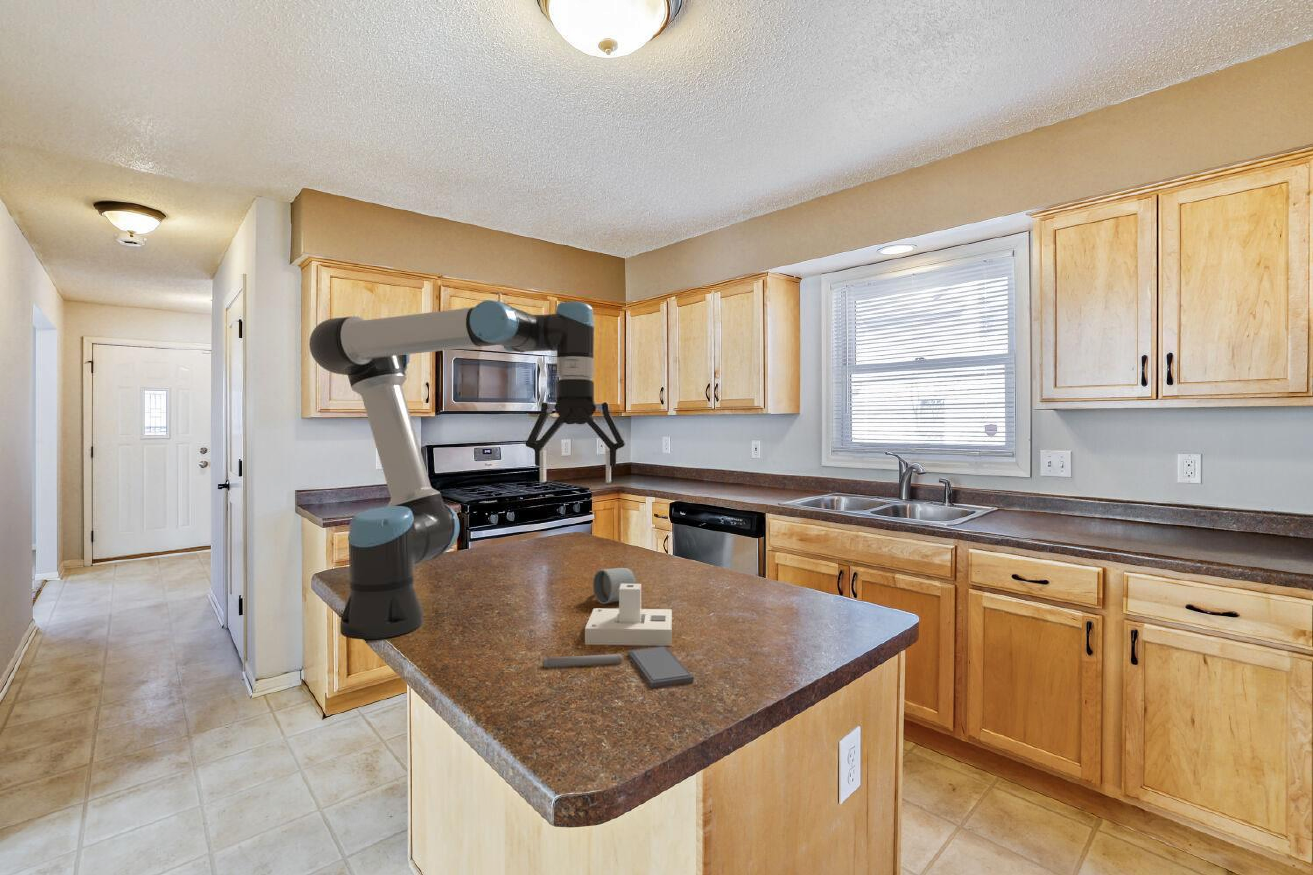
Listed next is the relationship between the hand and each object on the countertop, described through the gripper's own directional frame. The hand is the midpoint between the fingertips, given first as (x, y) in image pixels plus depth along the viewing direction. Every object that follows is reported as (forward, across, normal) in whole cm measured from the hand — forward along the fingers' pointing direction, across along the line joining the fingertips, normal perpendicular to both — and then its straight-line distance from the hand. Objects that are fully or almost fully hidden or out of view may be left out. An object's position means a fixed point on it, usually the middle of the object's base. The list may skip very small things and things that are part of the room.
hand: (575, 482), depth 126 cm
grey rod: (+29, +5, -23) cm, 37 cm away
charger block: (+28, +12, -8) cm, 32 cm away
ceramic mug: (+29, +6, +14) cm, 33 cm away
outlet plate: (+29, +12, -8) cm, 32 cm away
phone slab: (+29, +18, -24) cm, 42 cm away
